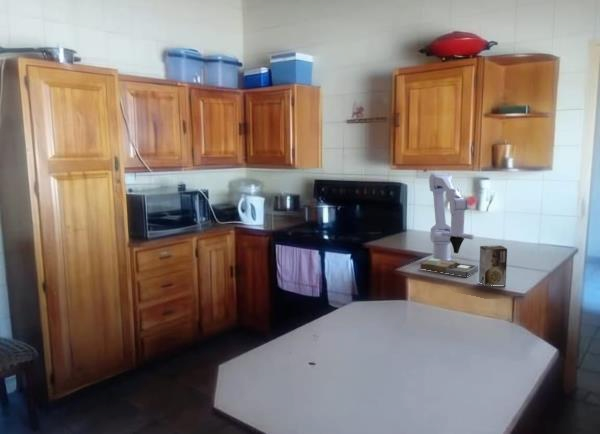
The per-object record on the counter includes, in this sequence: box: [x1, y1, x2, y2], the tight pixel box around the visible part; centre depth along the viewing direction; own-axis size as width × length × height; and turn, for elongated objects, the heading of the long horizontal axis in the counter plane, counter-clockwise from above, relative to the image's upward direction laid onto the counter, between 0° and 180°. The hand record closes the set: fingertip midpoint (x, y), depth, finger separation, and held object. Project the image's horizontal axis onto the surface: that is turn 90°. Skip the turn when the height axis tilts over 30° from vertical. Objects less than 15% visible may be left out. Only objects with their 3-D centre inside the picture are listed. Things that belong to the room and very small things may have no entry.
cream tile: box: [457, 265, 470, 271], centre depth 220 cm, size 4×4×2 cm
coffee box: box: [478, 245, 508, 287], centre depth 198 cm, size 9×6×16 cm
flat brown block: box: [420, 258, 458, 273], centre depth 225 cm, size 14×12×3 cm
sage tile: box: [426, 257, 441, 265], centre depth 223 cm, size 4×4×2 cm
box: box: [446, 262, 479, 278], centre depth 218 cm, size 14×10×2 cm
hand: (456, 252), depth 221 cm, fingers closed
